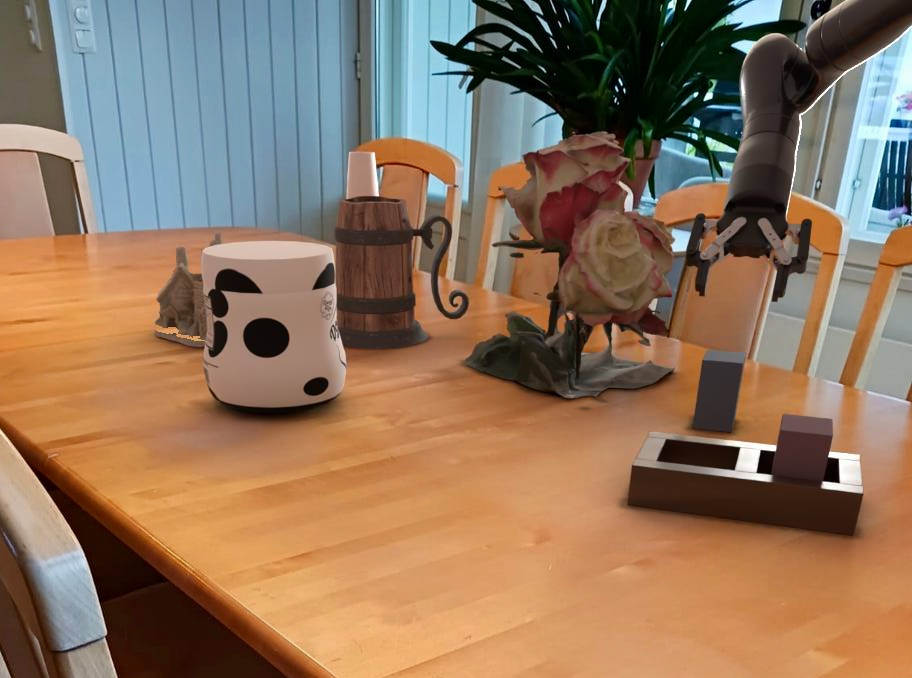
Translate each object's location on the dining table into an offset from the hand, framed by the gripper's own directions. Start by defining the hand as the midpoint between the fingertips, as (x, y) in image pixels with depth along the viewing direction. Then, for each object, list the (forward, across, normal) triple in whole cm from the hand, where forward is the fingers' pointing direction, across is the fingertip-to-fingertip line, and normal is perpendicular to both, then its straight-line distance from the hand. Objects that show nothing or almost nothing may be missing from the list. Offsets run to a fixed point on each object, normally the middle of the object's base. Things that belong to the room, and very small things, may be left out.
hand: (738, 295), depth 117 cm
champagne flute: (-30, -73, +49) cm, 93 cm away
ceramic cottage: (+4, -80, +16) cm, 82 cm away
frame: (+33, +5, -14) cm, 36 cm away
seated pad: (+33, +10, -14) cm, 37 cm away
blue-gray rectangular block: (+16, 0, +3) cm, 16 cm away
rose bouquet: (+3, -20, +16) cm, 26 cm away
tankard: (-5, -53, +24) cm, 58 cm away
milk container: (+24, -52, -5) cm, 58 cm away
